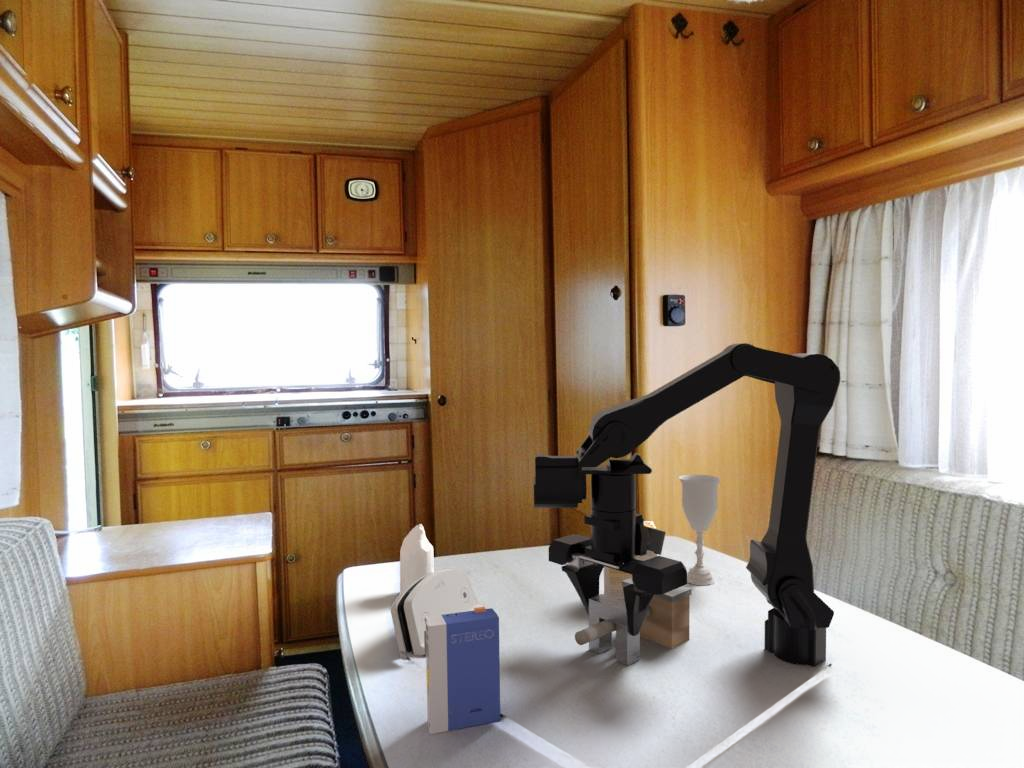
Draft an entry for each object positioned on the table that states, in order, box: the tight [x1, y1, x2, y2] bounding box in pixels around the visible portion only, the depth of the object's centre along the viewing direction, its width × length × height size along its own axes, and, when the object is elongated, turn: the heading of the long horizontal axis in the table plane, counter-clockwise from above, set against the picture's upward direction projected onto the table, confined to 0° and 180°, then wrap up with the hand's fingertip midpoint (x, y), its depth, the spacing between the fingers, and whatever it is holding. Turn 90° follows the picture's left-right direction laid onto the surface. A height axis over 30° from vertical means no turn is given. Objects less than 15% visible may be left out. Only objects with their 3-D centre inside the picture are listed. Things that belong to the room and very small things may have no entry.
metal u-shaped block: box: [588, 593, 641, 666], centre depth 88 cm, size 6×2×7 cm, turn 42°
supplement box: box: [603, 520, 658, 602], centre depth 107 cm, size 8×5×13 cm, turn 84°
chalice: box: [678, 474, 721, 586], centre depth 118 cm, size 7×7×18 cm
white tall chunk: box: [399, 523, 435, 594], centre depth 113 cm, size 6×12×6 cm
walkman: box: [424, 606, 501, 735], centre depth 74 cm, size 8×3×12 cm, turn 107°
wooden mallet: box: [574, 578, 693, 649], centre depth 90 cm, size 18×8×8 cm, turn 132°
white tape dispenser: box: [390, 568, 484, 660], centre depth 97 cm, size 17×5×10 cm, turn 154°
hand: (613, 627), depth 88 cm, fingers closed on metal u-shaped block, 6 cm apart
